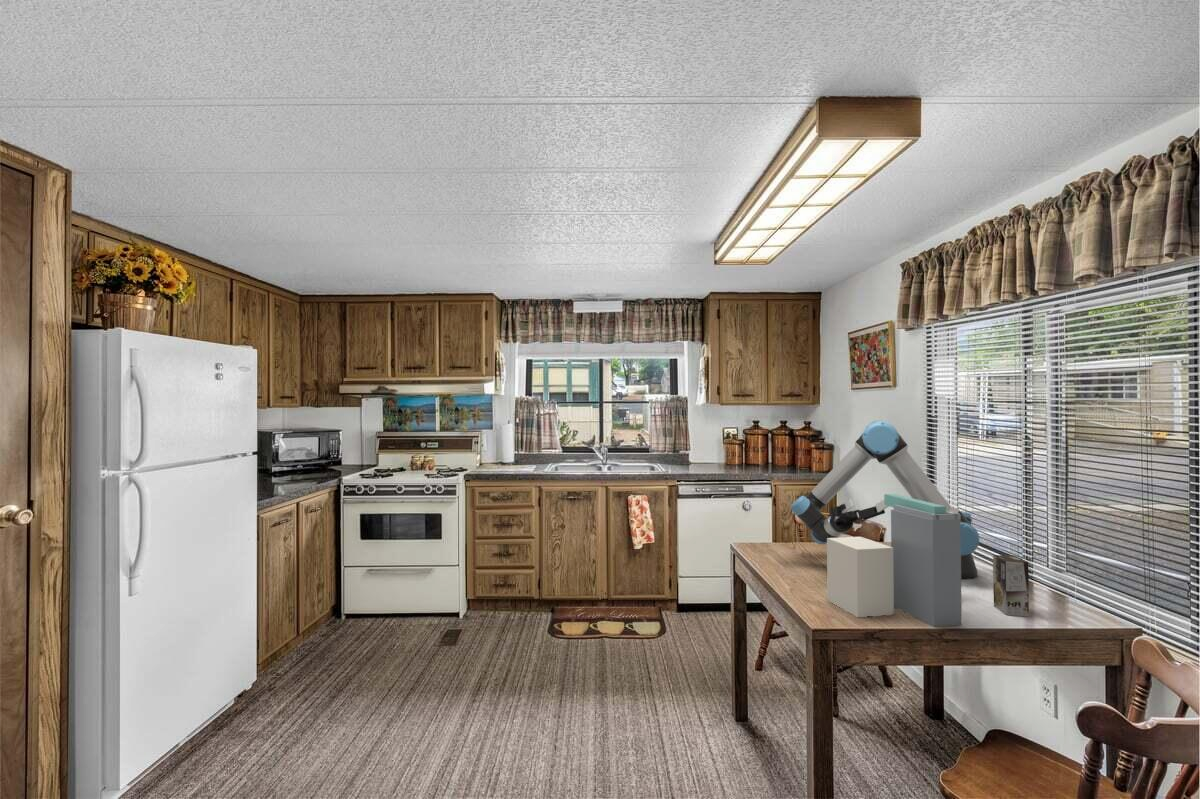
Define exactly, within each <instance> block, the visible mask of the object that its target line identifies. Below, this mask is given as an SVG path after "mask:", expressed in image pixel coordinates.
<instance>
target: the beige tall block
mask: <svg viewBox="0 0 1200 799" xmlns="http://www.w3.org/2000/svg"><path fill="white" fill-rule="evenodd" d="M826 568H827V569H826V577H827V579H826V581H827V583H826V584H827V585H826V589H827V590H826V591H827V593H826V600H827V602H829V603H830V602H831V603H830V604H832V603H833V604H832V605H834V604H835V606H836V605H837V606H836V607H837V608H839V607H840V608H839V609H841V608H842V609H841V610H843V609H844V610H843V611H845V612H847V613H848V612H849V614H850V613H851V615H852V614H853V615H852V616H854V617H855V618H857V617H860V618H868V617H867V616H873V617H882V616H881V615H886V616H893V615H892V614H894V615H895V613H894V612H895V608H894V573H893V547H891V545H890V546H889V545H887V544H884V543H881V542H879V541H878V542H877V541H876V540H875V541H874V540H872V539H869V538H866V537H863V536H845V537H843V536H842V537H837V538H827V543H826Z"/></svg>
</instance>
